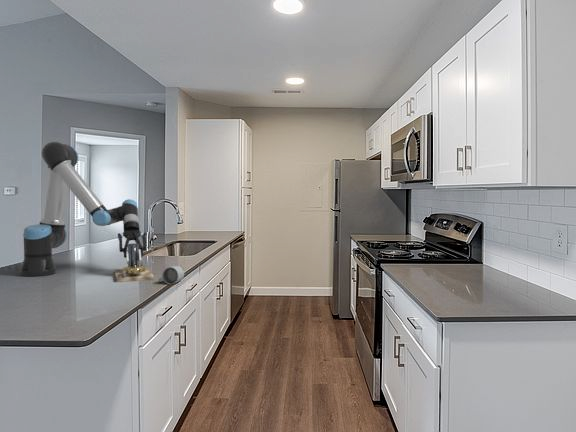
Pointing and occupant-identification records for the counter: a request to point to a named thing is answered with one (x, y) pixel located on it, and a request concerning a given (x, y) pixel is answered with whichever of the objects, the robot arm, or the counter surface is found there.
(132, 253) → the pinion
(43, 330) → the counter surface
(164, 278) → the ceramic mug
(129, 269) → the gear
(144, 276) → the board
